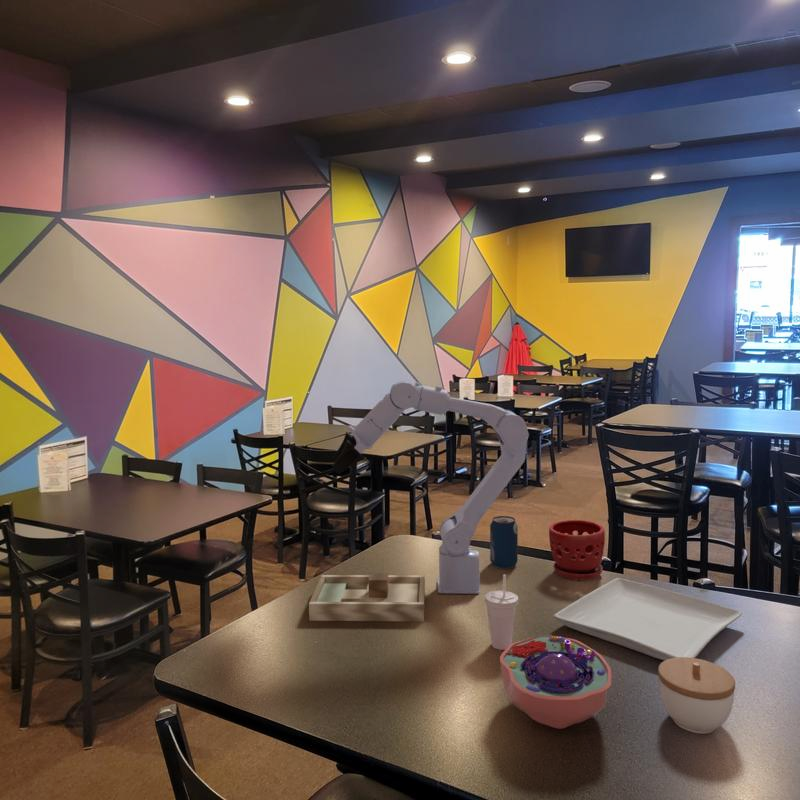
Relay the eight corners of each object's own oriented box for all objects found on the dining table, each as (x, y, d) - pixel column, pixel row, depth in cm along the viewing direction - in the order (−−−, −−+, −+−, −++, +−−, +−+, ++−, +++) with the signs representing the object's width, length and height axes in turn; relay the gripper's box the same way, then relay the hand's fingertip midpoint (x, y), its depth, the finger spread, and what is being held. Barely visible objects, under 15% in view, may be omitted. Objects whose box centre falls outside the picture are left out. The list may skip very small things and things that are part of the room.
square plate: (616, 591, 152) (616, 574, 152) (743, 628, 133) (744, 610, 133) (551, 630, 134) (551, 611, 133) (688, 680, 114) (688, 659, 114)
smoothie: (517, 654, 123) (518, 582, 122) (483, 651, 124) (483, 580, 123) (518, 638, 129) (519, 569, 128) (485, 636, 131) (485, 567, 129)
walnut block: (388, 590, 148) (388, 573, 147) (387, 597, 144) (386, 580, 143) (370, 590, 148) (370, 573, 147) (368, 597, 144) (368, 580, 143)
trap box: (424, 590, 153) (424, 575, 153) (423, 621, 138) (423, 604, 137) (322, 590, 155) (321, 575, 154) (309, 620, 139) (308, 603, 138)
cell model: (604, 684, 112) (606, 621, 111) (615, 760, 93) (617, 684, 92) (504, 674, 116) (504, 612, 115) (494, 744, 97) (494, 671, 96)
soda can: (522, 564, 169) (523, 518, 168) (507, 571, 164) (507, 524, 163) (500, 558, 174) (500, 513, 173) (484, 565, 169) (484, 519, 168)
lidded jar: (728, 708, 105) (730, 652, 104) (738, 749, 95) (741, 687, 94) (655, 697, 108) (657, 642, 107) (658, 735, 98) (660, 676, 97)
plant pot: (573, 560, 171) (574, 515, 170) (615, 576, 161) (616, 528, 159) (537, 571, 164) (537, 524, 163) (578, 588, 153) (579, 538, 152)
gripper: (362, 406, 157) (323, 447, 158) (364, 417, 142) (321, 463, 143) (383, 425, 158) (345, 466, 159) (387, 439, 144) (345, 484, 145)
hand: (335, 466), depth 151 cm, fingers open, 7 cm apart
